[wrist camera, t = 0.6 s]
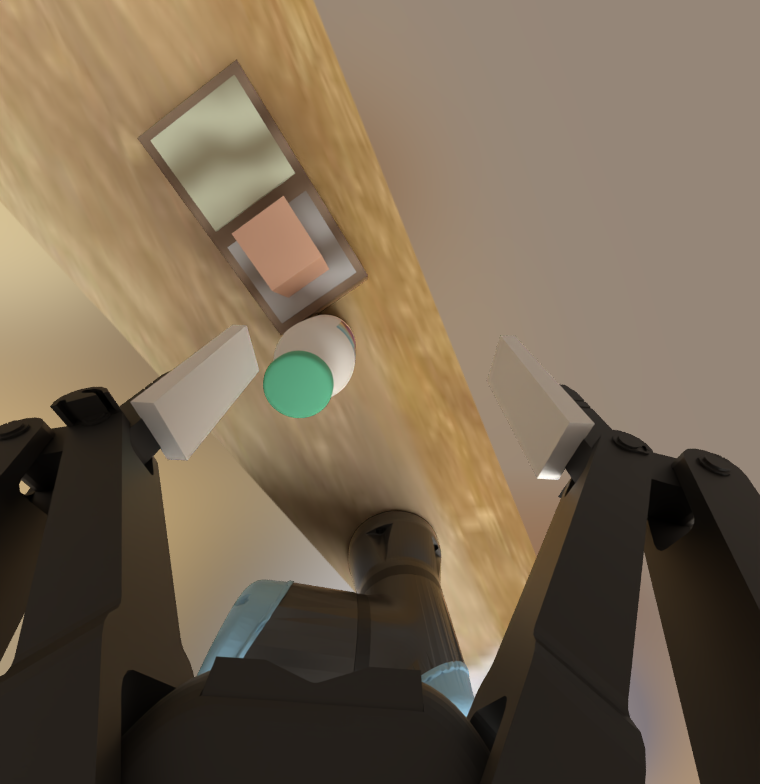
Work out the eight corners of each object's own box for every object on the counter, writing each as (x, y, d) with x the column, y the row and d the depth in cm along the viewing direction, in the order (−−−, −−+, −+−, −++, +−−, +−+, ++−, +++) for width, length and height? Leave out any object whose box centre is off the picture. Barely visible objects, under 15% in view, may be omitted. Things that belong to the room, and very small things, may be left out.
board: (367, 279, 35) (367, 274, 32) (287, 334, 36) (280, 334, 33) (248, 85, 30) (235, 57, 27) (158, 155, 31) (135, 136, 28)
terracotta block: (329, 269, 32) (321, 255, 26) (288, 297, 32) (272, 291, 26) (298, 221, 30) (283, 195, 25) (256, 251, 31) (231, 233, 25)
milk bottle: (293, 362, 37) (227, 426, 18) (305, 306, 35) (245, 312, 16) (347, 377, 38) (339, 450, 19) (362, 324, 36) (369, 349, 17)
